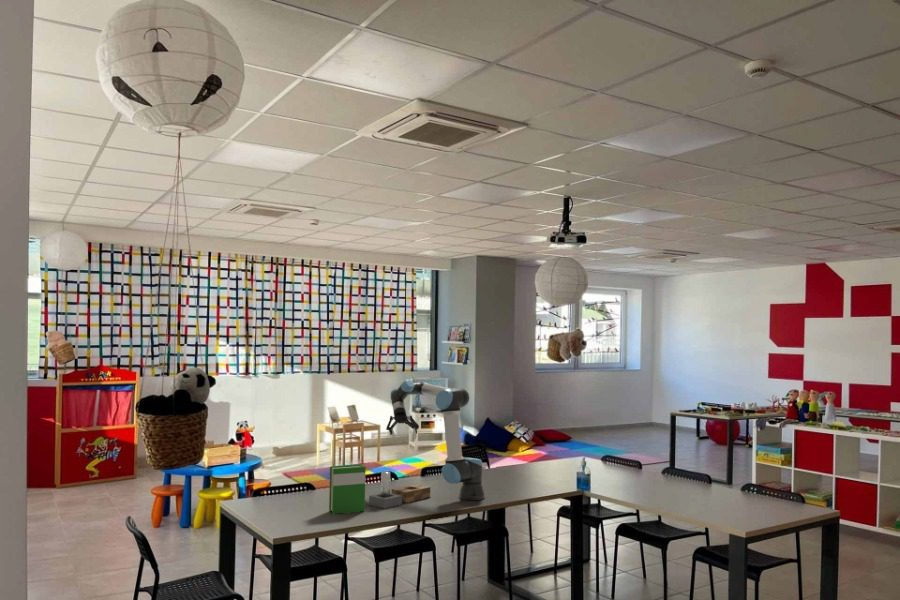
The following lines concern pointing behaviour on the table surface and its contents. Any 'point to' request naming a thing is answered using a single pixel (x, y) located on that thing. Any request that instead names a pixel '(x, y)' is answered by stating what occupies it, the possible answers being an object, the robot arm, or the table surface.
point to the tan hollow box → (412, 492)
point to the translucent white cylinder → (385, 484)
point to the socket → (385, 500)
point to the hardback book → (347, 489)
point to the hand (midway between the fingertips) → (404, 438)
